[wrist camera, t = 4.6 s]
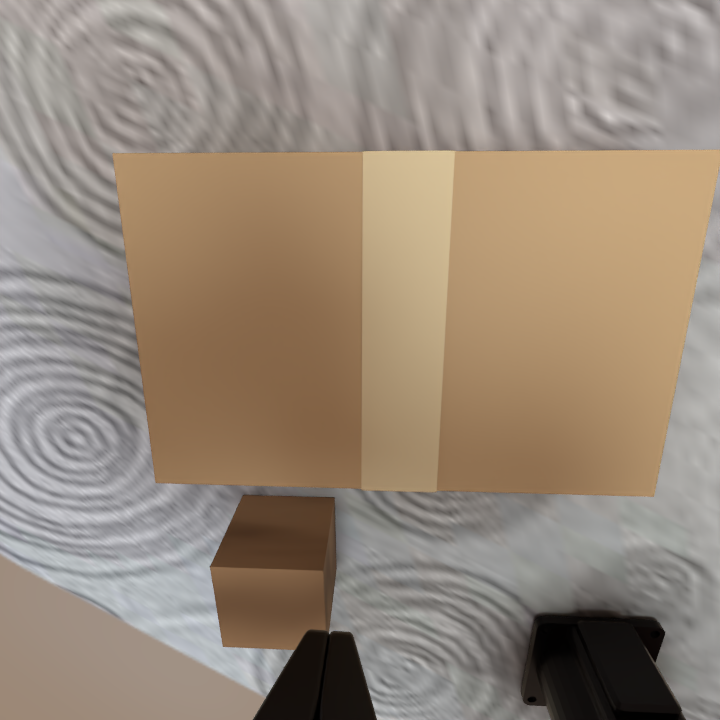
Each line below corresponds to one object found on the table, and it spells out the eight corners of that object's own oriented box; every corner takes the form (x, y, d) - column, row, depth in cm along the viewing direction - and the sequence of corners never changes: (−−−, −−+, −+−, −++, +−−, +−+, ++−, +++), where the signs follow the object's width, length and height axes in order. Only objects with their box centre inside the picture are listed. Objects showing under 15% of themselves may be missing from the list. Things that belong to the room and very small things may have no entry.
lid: (642, 486, 14) (655, 498, 14) (164, 473, 15) (154, 484, 14) (705, 154, 12) (725, 149, 11) (125, 157, 12) (110, 152, 12)
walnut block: (336, 567, 23) (326, 651, 19) (251, 564, 23) (222, 646, 19) (334, 496, 21) (323, 570, 17) (243, 494, 21) (210, 567, 17)
